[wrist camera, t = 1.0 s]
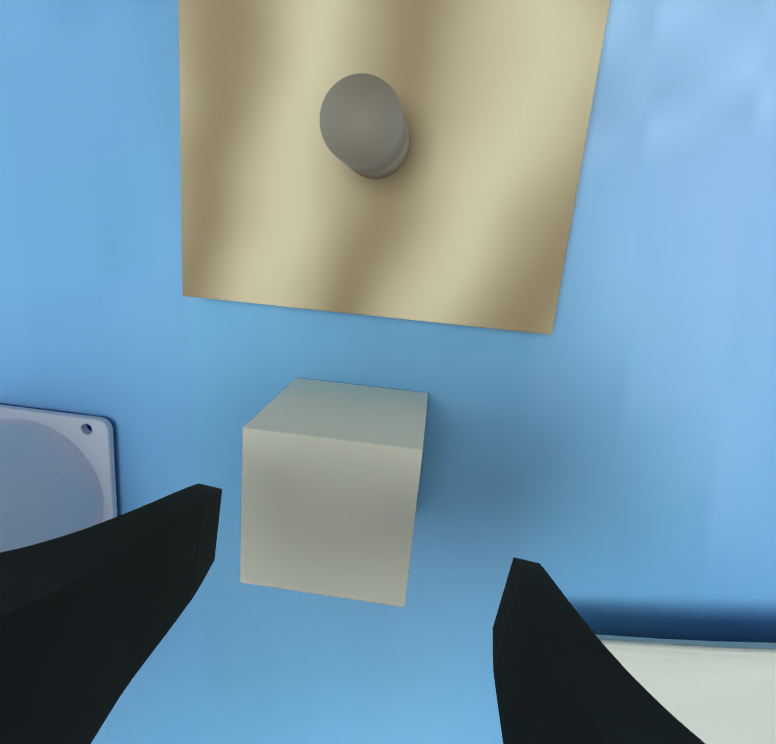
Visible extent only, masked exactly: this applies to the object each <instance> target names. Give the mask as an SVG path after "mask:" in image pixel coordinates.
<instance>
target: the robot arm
mask: <svg viewBox="0 0 776 744" xmlns="http://www.w3.org/2000/svg"><path fill="white" fill-rule="evenodd" d="M87 424H89V425H90V426H91V428H92V431H90V430H89V429H88V427H87ZM221 494H222V489H220V488H215V487H211V486H207V485H203V484H196V485H193V486H190V487H187V488H185V489H182V490H180V491H178V492H175V493H173V494H171V495H168V496H166V497H164V498H161V499H159V500H157V501H154V502H152V503H149V504H147V505H145V506H142V507H140V508H138V509H135V510H133V511H130V512H128V513H126V514H123V515H120V516H118V517H117V498H116V479H115V460H114V441H113V428H112V425H111V423H110V422H109V421H108V420H107V419H105V418H102V417H95V416H87V415H79V414H72V413H64V412H56V411H48V410H40V409H32V408H24V407H16V406H8V405H0V744H91V742H92V741H93V739H94V737H95V736H96V734H97V733H98V731H99V729H100V728H101V726H102V724H103V723H104V721H105V720H106V718H107V716H108V715H109V713H110V712H111V710H112V708H113V707H114V705H115V703H116V702H117V700H118V699H119V697H120V696H121V694H122V693H123V691H124V690H125V688H126V687H127V686H128V684H129V683H130V681H131V680H132V678H133V677H134V676H135V674H136V673H137V672H138V670H139V669H140V668H141V666H142V665H143V664H144V662H145V661H146V660H147V658H148V657H149V656H150V654H151V653H152V652H153V650H154V649H155V648H156V646H157V645H158V644H159V643H160V641H161V640H162V639H163V637H164V636H165V635H166V633H167V632H168V631H169V629H170V628H171V627H172V625H173V624H174V623H175V621H176V620H177V619H178V617H179V616H180V615H181V613H182V612H183V610H184V609H185V608H186V606H187V605H188V604H189V602H190V601H191V600H192V598H193V597H194V595H195V594H196V592H197V590H198V588H199V587H200V585H201V583H202V582H203V580H204V578H205V576H206V574H207V573H208V571H209V569H210V567H211V565H212V563H213V562H214V559H215V549H216V540H217V531H218V522H219V513H220V504H221ZM493 671H494V679H495V687H496V694H497V702H498V709H499V716H500V723H501V730H502V737H503V744H705V743H704V742H703V741H702V740H701V739H700V738H698V737H697V736H696V735H695V734H694V733H693V732H691V731H690V730H689V729H688V728H687V727H686V726H684V725H683V724H682V723H681V722H680V721H679V720H678V719H676V718H675V717H674V716H673V715H672V714H671V713H670V712H669V711H668V710H667V709H665V708H664V707H663V706H662V705H661V704H660V703H659V702H658V701H657V700H656V699H655V698H654V697H653V696H652V695H651V694H650V693H649V692H648V691H647V690H646V689H645V688H644V687H643V686H642V685H641V684H640V683H639V682H638V681H637V680H636V679H635V678H634V677H633V676H632V675H631V674H630V673H629V672H628V671H627V670H626V669H625V668H624V667H623V666H622V664H621V663H620V662H619V661H618V660H617V659H616V658H615V657H614V655H613V654H612V653H611V652H610V651H609V650H608V649H607V648H606V646H605V645H604V644H603V643H602V642H601V641H600V640H599V638H598V637H597V636H596V635H595V634H594V632H593V631H592V630H591V629H590V628H589V626H588V625H587V624H586V623H585V621H584V620H583V619H582V618H581V616H580V615H579V614H578V613H577V611H576V610H575V609H574V607H573V606H572V605H571V604H570V602H569V601H568V600H567V598H566V597H565V596H564V594H563V593H562V592H561V590H560V589H559V588H558V586H557V585H556V584H555V583H554V581H553V580H552V579H551V577H550V576H549V575H548V573H547V572H546V571H545V569H544V568H543V567H542V566H541V565H540V563H535V562H531V561H527V560H523V559H518V558H513V562H512V565H511V568H510V572H509V575H508V578H507V582H506V585H505V589H504V592H503V595H502V599H501V602H500V606H499V609H498V612H497V616H496V619H495V623H494V626H493Z"/></svg>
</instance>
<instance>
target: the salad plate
mask: <svg viewBox="0 0 776 744" xmlns="http://www.w3.org/2000/svg"><path fill="white" fill-rule="evenodd" d="M595 635H596V636H597V637H598V638H599V640H600V641H601V642H602V643H603V644H604V645H605V646H606V648H607V649H608V650H609V651H610V652H611V653H612V654H613V655H614V657H615V658H616V659H617V660H618V661H619V662H620V663H621V664H622V666H623V667H624V668H625V669H626V670H627V671H628V672H629V673H630V674H631V675H632V676H633V677H634V678H635V679H636V680H637V681H638V682H639V683H640V684H641V685H642V686H643V687H644V688H645V689H646V690H647V691H648V692H649V693H650V694H651V695H652V696H653V697H654V698H655V699H656V700H657V701H658V702H659V703H660V704H661V705H662V706H663V707H664V708H665V709H667V710H668V711H669V712H670V713H671V714H672V715H673V716H674V717H675V718H676V719H678V720H679V721H680V722H681V723H682V724H683V725H684V726H686V727H687V728H688V729H689V730H690V731H691V732H693V733H694V734H695V735H696V736H697V737H698V738H700V739H701V740H702V741H703V742H704V743H705V744H776V643H768V642H724V641H699V640H677V639H657V638H642V637H628V636H613V635H598V634H595Z"/></svg>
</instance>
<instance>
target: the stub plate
mask: <svg viewBox="0 0 776 744" xmlns="http://www.w3.org/2000/svg"><path fill="white" fill-rule="evenodd" d="M609 5H610V0H179V53H180V127H181V200H182V273H183V296H190V297H200V298H209V299H219V300H228V301H238V302H247V303H257V304H266V305H276V306H285V307H295V308H304V309H314V310H323V311H332V312H342V313H351V314H361V315H370V316H380V317H389V318H399V319H408V320H418V321H427V322H437V323H446V324H456V325H465V326H475V327H484V328H494V329H503V330H513V331H522V332H532V333H541V334H551V335H552V330H553V325H554V319H555V313H556V308H557V302H558V296H559V290H560V285H561V279H562V273H563V268H564V262H565V256H566V251H567V245H568V239H569V233H570V228H571V222H572V216H573V211H574V205H575V199H576V193H577V188H578V182H579V176H580V171H581V165H582V159H583V153H584V148H585V142H586V136H587V131H588V125H589V119H590V114H591V108H592V102H593V96H594V91H595V85H596V79H597V74H598V68H599V62H600V56H601V51H602V45H603V39H604V34H605V28H606V22H607V16H608V11H609Z"/></svg>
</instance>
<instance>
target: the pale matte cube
mask: <svg viewBox="0 0 776 744" xmlns="http://www.w3.org/2000/svg"><path fill="white" fill-rule="evenodd" d="M427 401H428V393H423V392H415V391H406V390H397V389H389V388H380V387H372V386H363V385H354V384H346V383H337V382H329V381H320V380H311V379H303V378H296V379H295V380H294V381H292V382H291V383H290V384H289V385H288V386H287V387H286V388H285V389H284V390H283V391H282V392H281V393H279V394H278V395H277V396H276V397H275V398H274V399H273V400H272V401H271V402H270V403H269V404H268V405H267V406H265V407H264V408H263V409H262V410H261V411H260V412H259V413H258V414H257V415H256V416H255V417H254V418H253V419H251V420H250V421H249V422H248V423H247V424H246V425H245V426H244V427H243V442H242V498H241V555H240V583H247V584H254V585H260V586H267V587H274V588H280V589H287V590H294V591H300V592H307V593H314V594H320V595H327V596H334V597H340V598H347V599H354V600H361V601H367V602H374V603H381V604H387V605H394V606H401V607H405V599H406V591H407V582H408V574H409V565H410V556H411V548H412V539H413V530H414V522H415V513H416V505H417V496H418V487H419V479H420V470H421V461H422V453H423V443H424V432H425V422H426V411H427Z"/></svg>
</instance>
